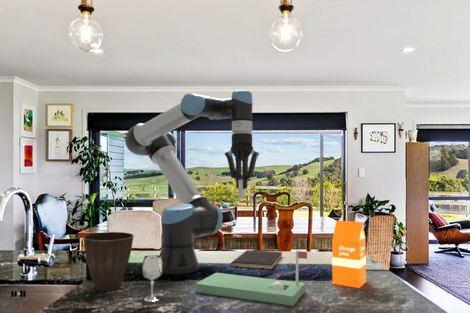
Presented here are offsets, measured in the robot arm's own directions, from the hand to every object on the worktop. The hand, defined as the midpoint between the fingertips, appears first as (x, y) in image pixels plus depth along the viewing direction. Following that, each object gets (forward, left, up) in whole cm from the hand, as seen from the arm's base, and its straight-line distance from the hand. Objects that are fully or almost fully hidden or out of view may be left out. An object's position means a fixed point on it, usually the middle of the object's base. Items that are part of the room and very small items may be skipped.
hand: (241, 197), depth 148 cm
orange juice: (+38, 0, -27) cm, 46 cm away
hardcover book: (0, +17, -27) cm, 32 cm away
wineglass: (-11, -40, -27) cm, 49 cm away
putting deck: (+12, -22, -26) cm, 36 cm away
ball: (+21, -22, -24) cm, 39 cm away
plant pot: (-30, -36, -27) cm, 54 cm away
